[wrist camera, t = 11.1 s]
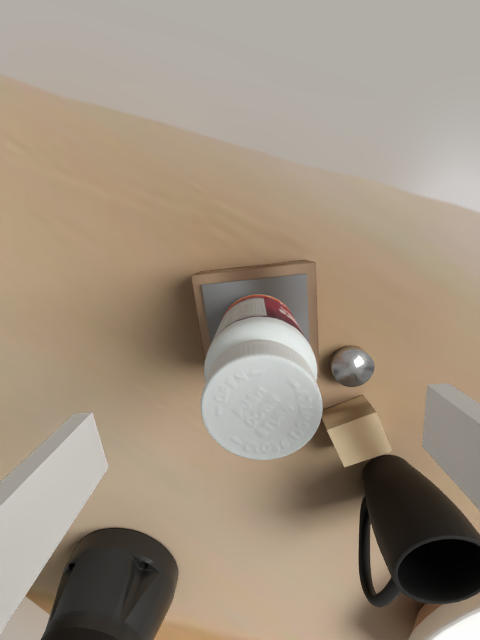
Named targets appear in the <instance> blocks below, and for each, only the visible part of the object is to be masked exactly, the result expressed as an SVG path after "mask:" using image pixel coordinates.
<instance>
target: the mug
mask: <svg viewBox="0 0 480 640" xmlns="http://www.w3.org/2000/svg"><path fill="white" fill-rule="evenodd" d="M362 478H363V482H364V489H365V497H364V498H363V501H362V504H361V510H360V524H359V575H360V581H361V585H362V588H363V591H364V594H365V596H366V597H367V599H368V601H369V602H370V603H371V604H372V605H374V606H376V607H383V606H386V605H388V604H390V603H391V602H392V601H394V600H395V599H396V598H397V597H398V596H399V595H400V594H401V592H402V593H403V594H404V595H406V596H407V597H409V598H411V599H413V600H416V601H419V602H422V603H428V604H450V603H456V602H460V601H463V600H466V599H469V598H471V597H473V596H475V595H477V594H478V593H480V534H479V533H478V532H477V530H476V529H475V528H474V527H473V525H472V524H471V523H470V522H469V520H468V519H467V518H466V517H465V515H464V514H463V513H462V512H461V511H460V510H459V509H458V508H457V506H456V505H455V504H454V503H453V502H452V501H451V500H450V499H449V498H448V497H447V496H446V495H445V494H444V493H443V492H442V491H441V490H440V489H439V488H437V487H436V486H435V485H434V484H433V483H432V482H431V481H430V480H429V479H427V478H426V477H425V476H424V475H423V474H421V473H420V472H419V471H418V470H416V469H415V468H414V467H412V466H411V465H410V464H409V463H407V462H406V461H405V460H404V459H402V458H400V457H397V456H393V455H384V456H380V457H377V458H375V459H373V460H372V461H370V462H369V463H368V464H367V465H366V467H365V468H364V470H363V474H362ZM371 524H372V528H373V531H374V534H375V537H376V540H377V543H378V546H379V548H380V551H381V553H382V556H383V558H384V560H385V563H386V565H387V567H388V570H389V572H390V574H391V579H390V581H389V582H388V584H387V585H386V586H385V588H384V589H383V590H382V591H381V592H379V593H378V594H376V593H375V591H374V587H373V583H372V578H371V568H370V525H371Z"/></svg>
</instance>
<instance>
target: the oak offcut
mask: <svg viewBox="0 0 480 640" xmlns="http://www.w3.org/2000/svg"><path fill="white" fill-rule="evenodd" d="M322 420H323V422H324V424H325V427H326V429H327V432H328V434H329V436H330V438H331V440H332V442H333V444H334V446H335V448H336V450H337V453H338V455H339V457H340V459H341V461H342V463H343V465H344V467H347V466H350V465H353V464H356V463H359V462H362V461H365V460H368V459H371V458H374V457H377V456H380V455H383V454H386V453H389V452H392V449H391V447H390V444H389V442H388V439H387V437H386V434H385V432H384V430H383V427H382V425H381V422H380V420H379V418H378V415H377V413H376V411H375V410H374V408H373V407H372V406H371V404H370V403H369V402H368V400H367V399H366V398H365V397H364V395H361V396H359V397H356V398H354V399H351V400H348V401H346V402H343V403H340V404H338V405H335V406H333V407H330V408H327V409H325V410H322Z"/></svg>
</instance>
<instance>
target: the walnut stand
mask: <svg viewBox="0 0 480 640" xmlns="http://www.w3.org/2000/svg"><path fill="white" fill-rule="evenodd" d="M191 278H192V284H193V290H194V296H195V303H196V309H197V315H198V321H199V327H200V334H201V340H202V346H203V352H204V359H205V360H206V355H207V352H208V350H209V347H210V345H211V343H212V341H213V339H214V336H215V334H216V332H217V330H218V328H219V325H220V323H221V321H222V318H223V316H224V314H225V313H226V311H227V310H228V308H229V307H230V306H231V305H232V304H233V303H234V302H236V301H237V300H239V299H241V298H243V297H245V296H249V295H254V294H263V295H268V296H271V297H274V298H276V299H278V300H279V301H281V302H282V303H283V304H284V305H286V307H287V308H288V309H289V310H290V312H291V313H292V315H293V317H294V319H295V320H296V322H297V324H298V325H299V327H300V329H301V331H302V333H303V334H304V336H305V338H306V339H307V340H308V342H309V344H310V346H311V348H312V351H313V353H314V355H315V359H316V363H317V377H319V350H318V319H317V288H316V262H312V261H308V260H301V261H292V262H282V263H273V264H264V265H255V266H246V267H237V268H228V269H219V270H210V271H201V272H199V273H196V274H194V275H192V276H191Z"/></svg>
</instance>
